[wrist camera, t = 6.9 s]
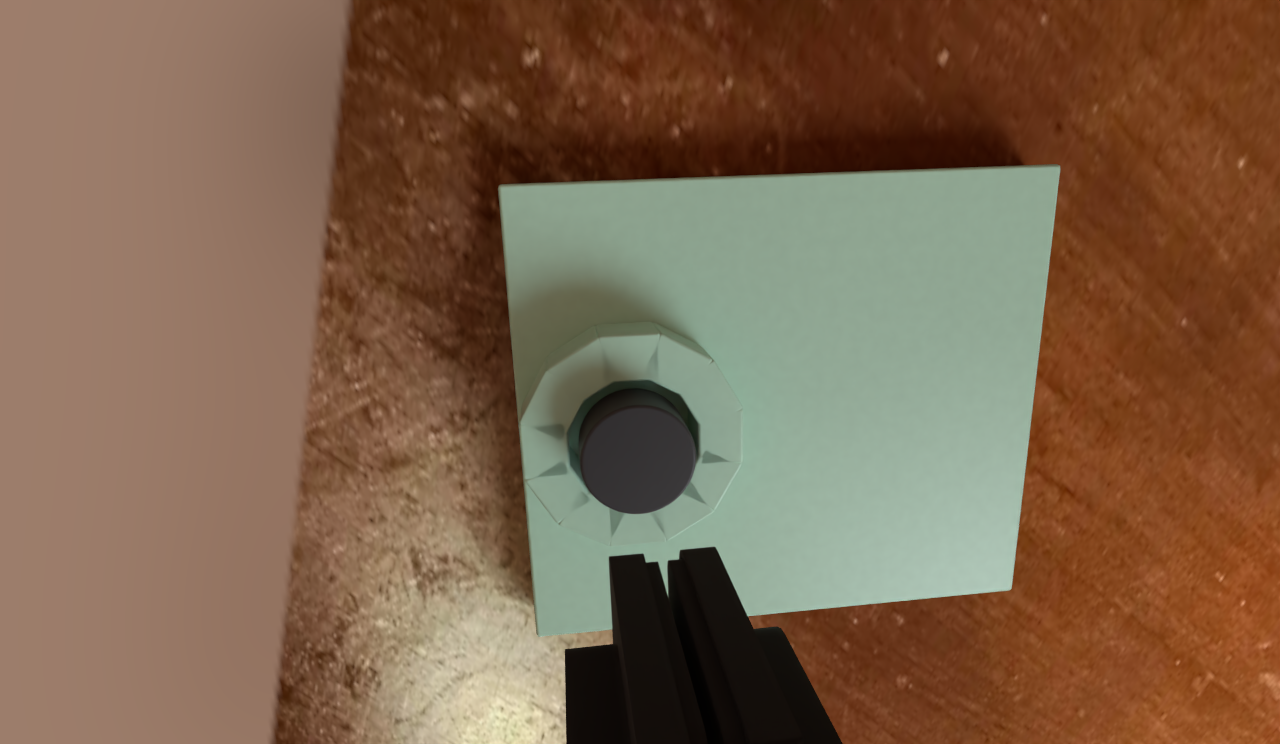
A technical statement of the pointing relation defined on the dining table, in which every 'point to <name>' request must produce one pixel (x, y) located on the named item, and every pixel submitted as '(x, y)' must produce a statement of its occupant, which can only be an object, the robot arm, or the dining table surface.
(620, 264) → the scale
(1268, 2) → the dining table surface
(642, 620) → the robot arm
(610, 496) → the tare button
